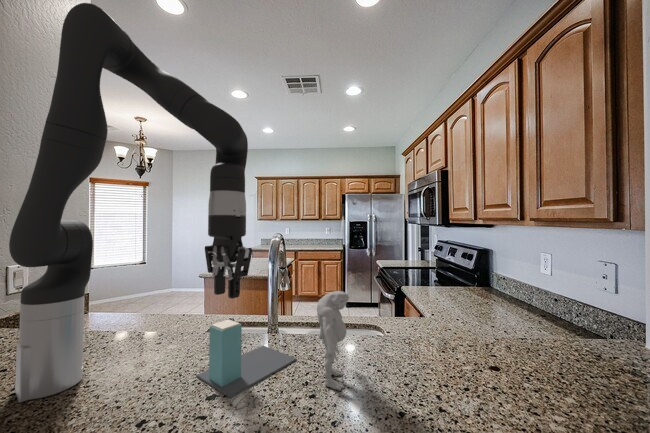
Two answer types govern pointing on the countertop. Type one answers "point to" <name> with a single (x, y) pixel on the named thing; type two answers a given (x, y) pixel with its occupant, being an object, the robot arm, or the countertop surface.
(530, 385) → the countertop surface
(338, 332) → the figurine
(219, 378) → the teal block
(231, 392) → the rubber mat
